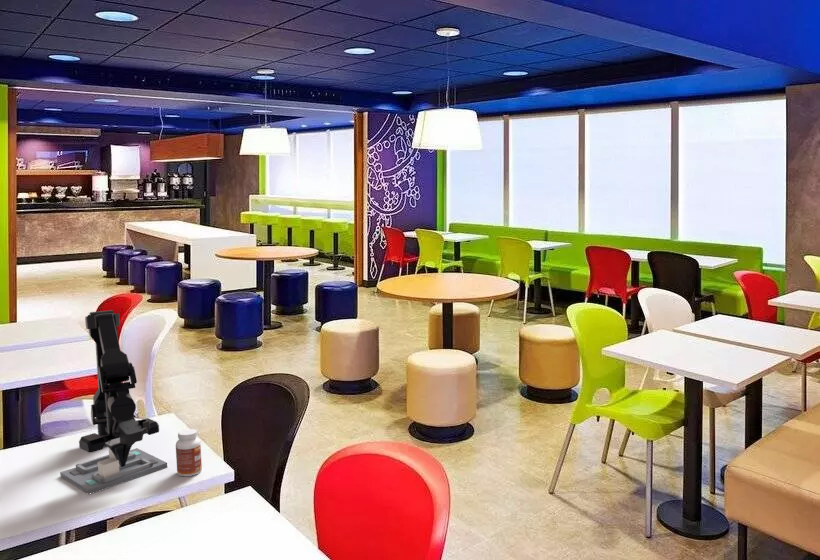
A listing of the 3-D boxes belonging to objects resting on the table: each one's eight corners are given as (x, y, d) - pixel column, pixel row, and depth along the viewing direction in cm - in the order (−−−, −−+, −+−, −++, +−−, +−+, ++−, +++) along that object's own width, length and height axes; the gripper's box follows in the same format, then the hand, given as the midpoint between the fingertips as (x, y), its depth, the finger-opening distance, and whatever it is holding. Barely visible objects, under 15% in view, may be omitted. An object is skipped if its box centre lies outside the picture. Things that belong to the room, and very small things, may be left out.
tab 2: (109, 459, 187) (108, 445, 186) (123, 454, 190) (122, 440, 189) (114, 462, 185) (113, 447, 184) (129, 457, 188) (128, 443, 187)
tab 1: (98, 477, 175) (97, 462, 175) (114, 472, 178) (112, 457, 178) (104, 480, 173) (103, 465, 173) (119, 475, 176) (118, 460, 176)
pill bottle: (199, 476, 178) (197, 435, 177) (175, 478, 178) (172, 436, 176) (203, 466, 184) (201, 426, 183) (179, 468, 184) (177, 428, 182)
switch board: (60, 476, 179) (59, 468, 179) (137, 452, 195) (136, 444, 194) (88, 494, 169) (88, 485, 168) (167, 467, 184) (166, 459, 184)
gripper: (96, 425, 164) (101, 487, 166) (168, 405, 178) (172, 463, 180) (75, 415, 171) (80, 475, 173) (146, 396, 185) (150, 452, 187)
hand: (122, 466), depth 178 cm, fingers closed
